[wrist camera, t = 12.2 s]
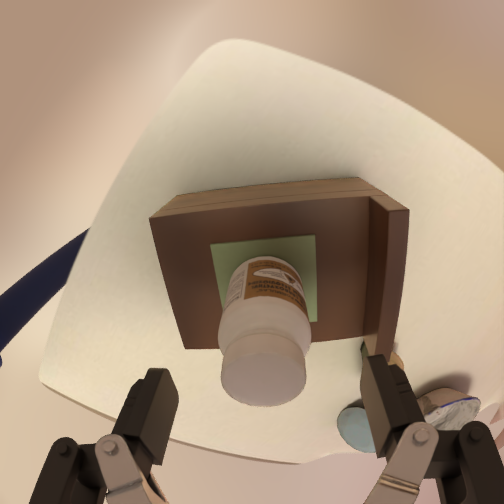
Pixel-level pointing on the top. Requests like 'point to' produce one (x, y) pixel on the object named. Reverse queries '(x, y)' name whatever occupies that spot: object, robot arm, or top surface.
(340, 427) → the gemstone
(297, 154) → the top surface
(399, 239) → the shelf
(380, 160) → the top surface
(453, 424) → the bowl
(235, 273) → the pill bottle
